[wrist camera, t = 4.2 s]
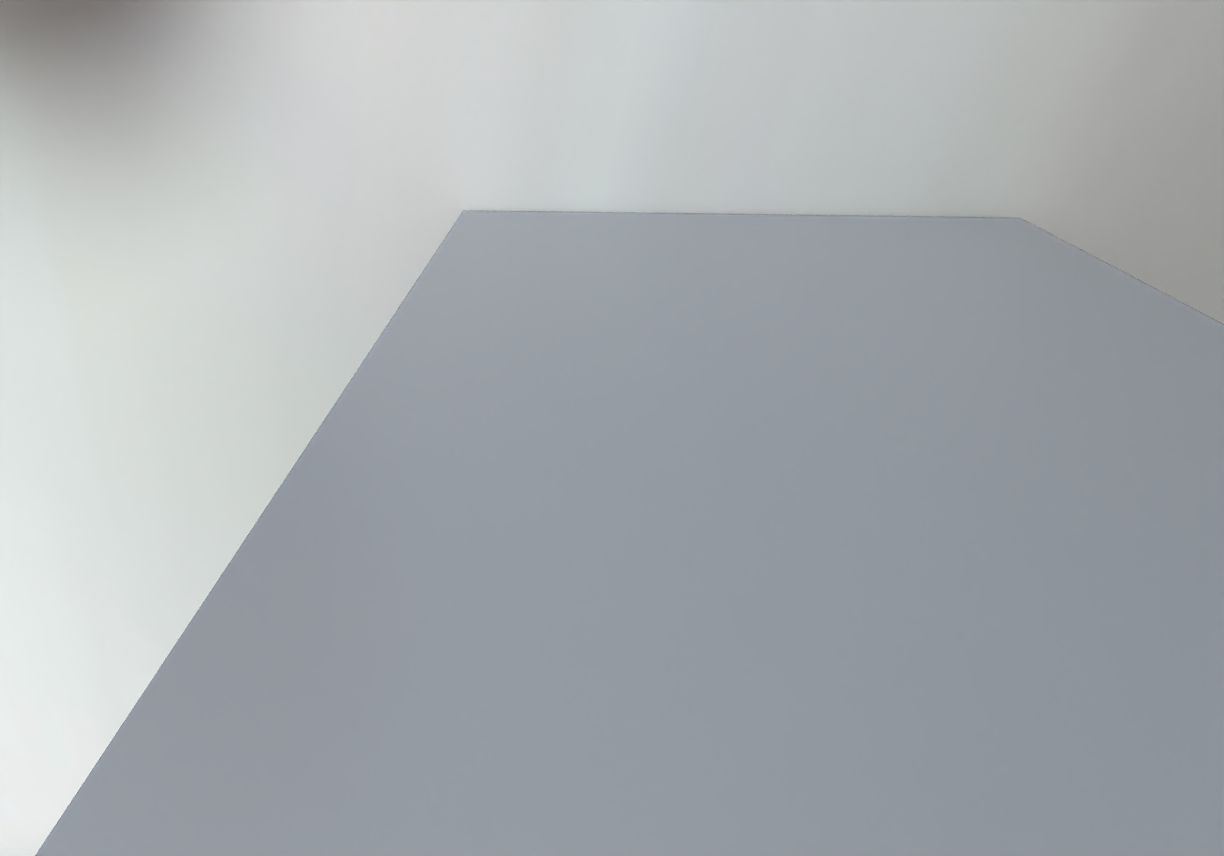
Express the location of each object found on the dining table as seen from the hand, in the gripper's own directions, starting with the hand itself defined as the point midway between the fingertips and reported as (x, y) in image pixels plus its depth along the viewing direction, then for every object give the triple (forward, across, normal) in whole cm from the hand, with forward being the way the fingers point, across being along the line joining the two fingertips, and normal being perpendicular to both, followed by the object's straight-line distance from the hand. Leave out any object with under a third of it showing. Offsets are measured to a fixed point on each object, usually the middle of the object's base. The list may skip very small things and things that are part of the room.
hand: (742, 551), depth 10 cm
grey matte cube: (+3, 0, 0) cm, 3 cm away
